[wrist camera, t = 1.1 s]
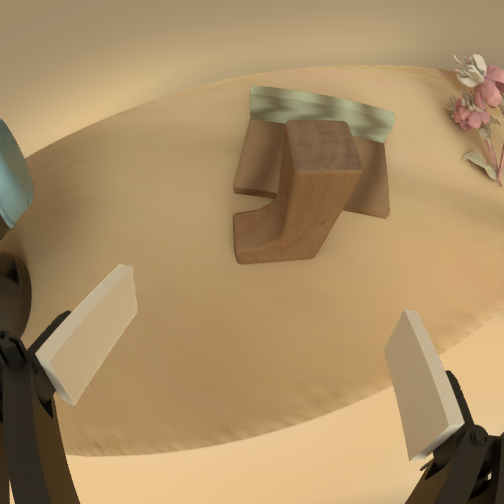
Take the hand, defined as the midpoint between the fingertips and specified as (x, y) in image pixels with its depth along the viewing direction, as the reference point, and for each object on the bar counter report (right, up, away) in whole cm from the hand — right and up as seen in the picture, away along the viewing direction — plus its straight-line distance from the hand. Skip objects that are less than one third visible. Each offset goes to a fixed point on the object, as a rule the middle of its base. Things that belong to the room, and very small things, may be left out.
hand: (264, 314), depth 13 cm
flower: (+40, +25, +27) cm, 55 cm away
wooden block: (+2, +4, +21) cm, 21 cm away
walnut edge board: (+8, +15, +25) cm, 30 cm away
